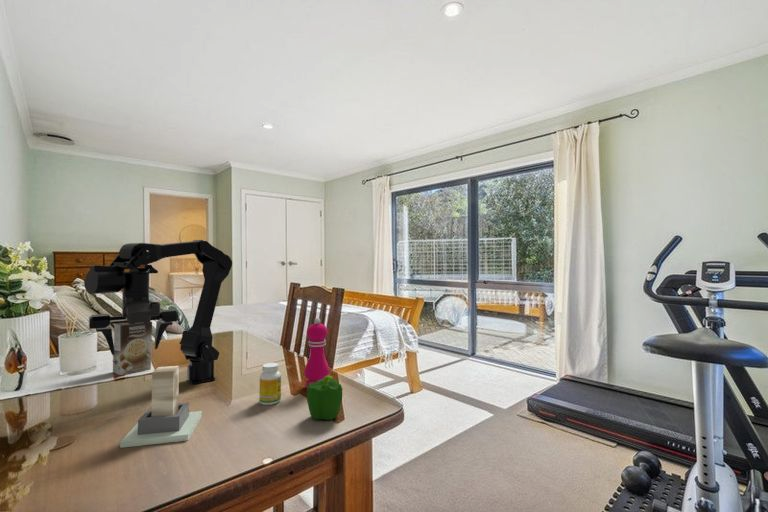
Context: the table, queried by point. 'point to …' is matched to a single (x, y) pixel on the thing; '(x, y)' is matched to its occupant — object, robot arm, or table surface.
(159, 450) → the table surface
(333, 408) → the bell pepper
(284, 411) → the table surface
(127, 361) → the coffee box
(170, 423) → the socket holder
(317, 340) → the pepper mill
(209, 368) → the robot arm
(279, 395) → the supplement bottle
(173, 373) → the plug block
